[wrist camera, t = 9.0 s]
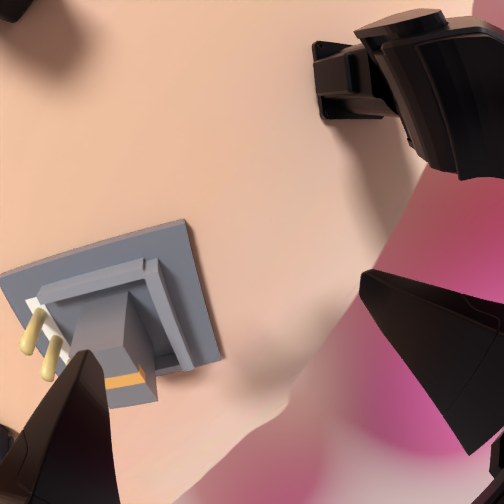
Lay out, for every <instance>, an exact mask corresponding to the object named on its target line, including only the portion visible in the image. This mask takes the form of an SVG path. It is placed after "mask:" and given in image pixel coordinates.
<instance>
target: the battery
mask: <svg viewBox="0 0 504 504" xmlns="http://www.w3.org/2000/svg"><path fill="white" fill-rule="evenodd" d="M32 1H33V0H0V19H2V20H5V21H8V22H11V23H13V22H16V21H17V20H18V19H19V18H20V16H21V15H22V14H23V12H24V11H25V10H26V8H27V7H28V6H29V5H30V3H31V2H32Z"/></svg>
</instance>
